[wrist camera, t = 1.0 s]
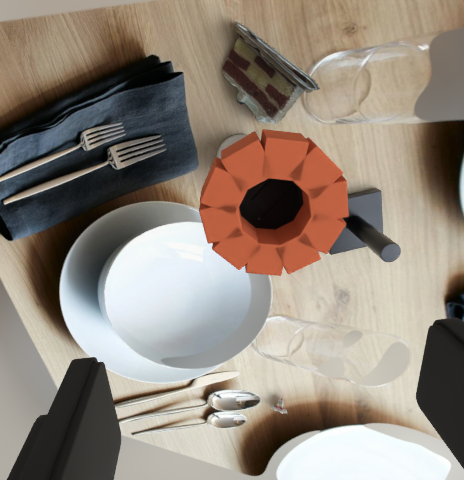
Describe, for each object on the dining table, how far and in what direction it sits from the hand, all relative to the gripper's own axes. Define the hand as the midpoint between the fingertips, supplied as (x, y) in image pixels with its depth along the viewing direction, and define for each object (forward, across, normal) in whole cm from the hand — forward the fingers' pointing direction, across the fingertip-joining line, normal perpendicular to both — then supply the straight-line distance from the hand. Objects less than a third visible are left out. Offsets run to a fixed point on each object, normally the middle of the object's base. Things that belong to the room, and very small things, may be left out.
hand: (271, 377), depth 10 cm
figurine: (+38, -8, +45) cm, 59 cm away
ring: (+20, -4, +1) cm, 20 cm away
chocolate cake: (+40, -7, -8) cm, 41 cm away
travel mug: (+40, -4, 0) cm, 40 cm away
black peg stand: (+40, -20, +11) cm, 46 cm away
